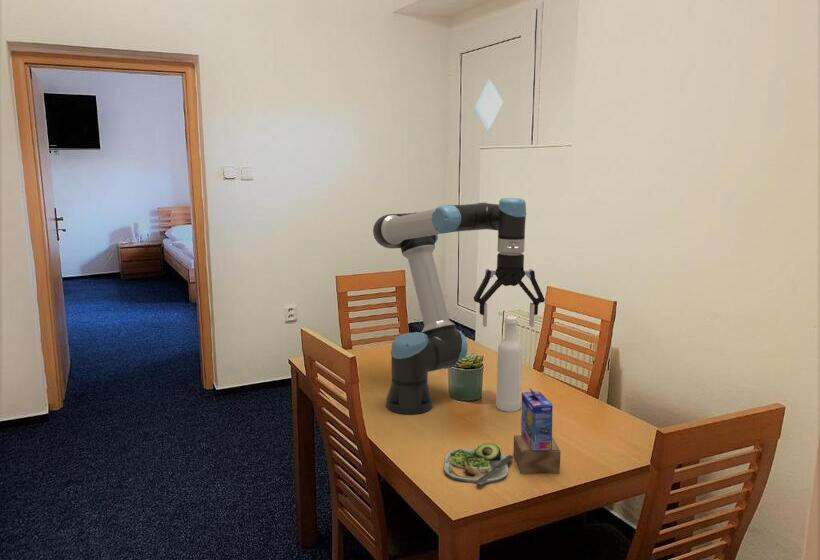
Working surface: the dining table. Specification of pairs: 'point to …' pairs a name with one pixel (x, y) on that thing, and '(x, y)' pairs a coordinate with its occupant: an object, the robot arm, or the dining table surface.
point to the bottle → (509, 369)
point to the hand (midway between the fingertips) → (508, 325)
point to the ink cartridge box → (536, 420)
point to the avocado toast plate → (478, 463)
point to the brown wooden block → (535, 458)
